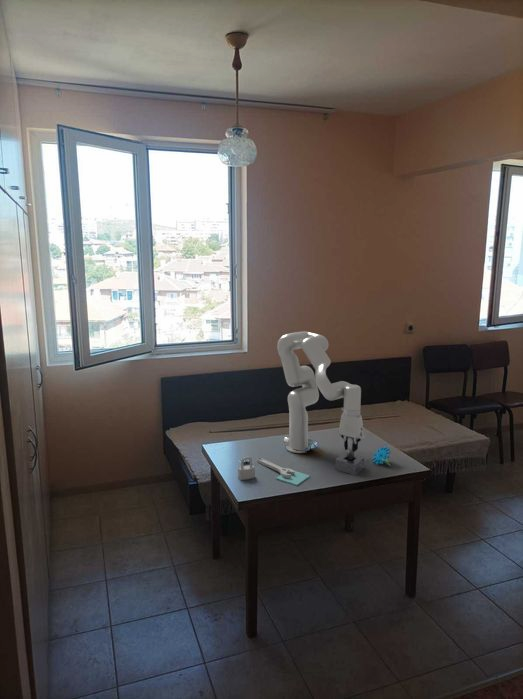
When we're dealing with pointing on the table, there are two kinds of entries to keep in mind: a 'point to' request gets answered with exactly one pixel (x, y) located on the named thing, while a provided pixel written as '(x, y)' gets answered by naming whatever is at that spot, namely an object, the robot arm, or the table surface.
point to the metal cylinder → (350, 448)
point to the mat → (294, 478)
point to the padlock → (246, 470)
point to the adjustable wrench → (277, 468)
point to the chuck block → (349, 464)
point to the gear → (381, 456)
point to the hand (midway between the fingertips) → (350, 449)
